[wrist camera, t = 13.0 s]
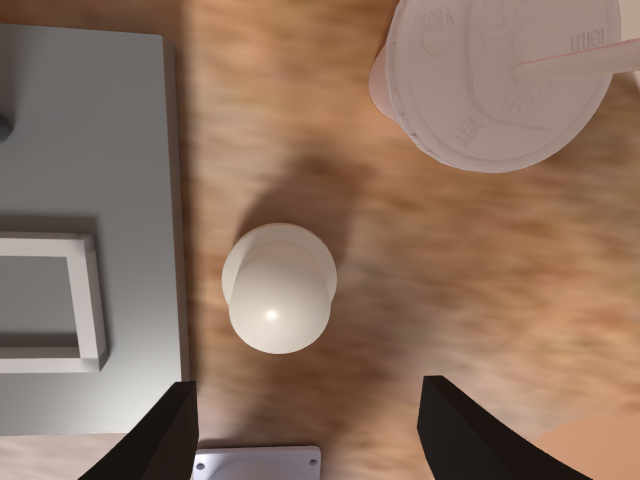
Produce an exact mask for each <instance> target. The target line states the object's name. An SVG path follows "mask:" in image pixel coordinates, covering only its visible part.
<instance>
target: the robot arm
mask: <svg viewBox="0 0 640 480" xmlns="http://www.w3.org/2000/svg"><path fill="white" fill-rule="evenodd" d="M417 430H418V434H419V437H420V440H421V444H422V447H423V450H424V453H425V457H426V460H427V462H428V464H429V467H430V469H431V471H432V473H433V476H434V478H435V480H593V479H591V478H589V477H587V476H585V475H583V474H582V473H580V472H578V471H576V470H574V469H572V468H570V467H569V466H567V465H565V464H563V463H562V462H560V461H558V460H556V459H555V458H553V457H552V456H550V455H549V454H547V453H545V452H544V451H542V450H541V449H539V448H537V447H536V446H534V445H533V444H531V443H530V442H528V441H527V440H525V439H524V438H522V437H521V436H520V435H518V434H517V433H515V432H514V431H513V430H511V429H510V428H508V427H507V426H506V425H504V424H503V423H502V422H500V421H499V420H498V419H496V418H495V417H494V416H492V415H491V414H490V413H489V412H487V411H486V410H485V409H483V408H482V407H481V406H480V405H478V404H477V403H476V402H475V401H474V400H472V399H471V398H470V397H469V396H467V395H466V394H465V393H464V392H463V391H461V390H460V389H459V388H458V387H456V386H455V385H454V384H453V383H451V382H450V381H449V380H448V379H446V378H445V377H444V376H442V375H439V376H424V379H423V386H422V394H421V401H420V408H419V416H418V423H417ZM198 438H199V428H198V410H197V393H196V381H181V382H174V383H173V384H172V385H171V386H170V388H169V389H168V390H167V391H166V392H165V393H164V395H163V396H162V397H161V398H160V399H159V400H158V401H157V403H156V404H155V405H154V406H153V407H152V408H151V409H150V410H149V412H148V413H147V414H146V415H145V416H144V417H143V418H142V419H141V420H140V421H139V422H138V423H137V424H136V425H135V427H134V428H133V429H132V430H131V431H130V432H129V433H128V434H127V435H126V436H125V437H124V438H123V439H122V440H121V441H120V442H119V443H118V444H117V445H116V446H114V447H113V448H112V449H111V450H110V451H109V452H108V453H107V454H106V455H105V456H104V457H103V458H102V459H101V460H100V461H98V462H97V463H96V464H95V465H94V466H93V467H92V468H91V469H89V470H88V471H87V472H86V473H85V474H83V475H82V476H81V477H80V478H79V479H77V480H190V478H191V474H192V471H193V480H319V478H320V464H321V451H320V449H319V447H317V446H289V447H257V448H224V449H200V450H197V444H198ZM196 450H197V451H196ZM312 459H314V461H310V460H312ZM199 463H203V465H201V464H199Z"/></svg>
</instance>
